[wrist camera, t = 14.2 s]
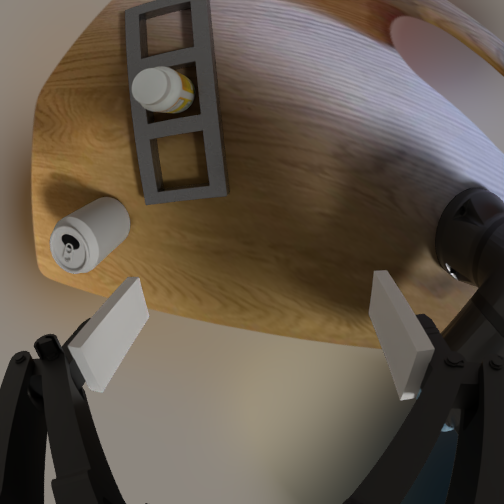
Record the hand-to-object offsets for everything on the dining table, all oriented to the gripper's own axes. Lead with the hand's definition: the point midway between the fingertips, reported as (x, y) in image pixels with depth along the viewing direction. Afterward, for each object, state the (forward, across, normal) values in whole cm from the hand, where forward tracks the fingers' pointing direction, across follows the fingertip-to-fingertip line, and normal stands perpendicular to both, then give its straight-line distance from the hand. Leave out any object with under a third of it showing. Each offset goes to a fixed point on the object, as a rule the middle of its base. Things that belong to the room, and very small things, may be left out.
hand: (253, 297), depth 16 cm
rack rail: (+25, +11, -15) cm, 31 cm away
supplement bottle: (+25, +11, -15) cm, 31 cm away
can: (+25, +24, +2) cm, 34 cm away
